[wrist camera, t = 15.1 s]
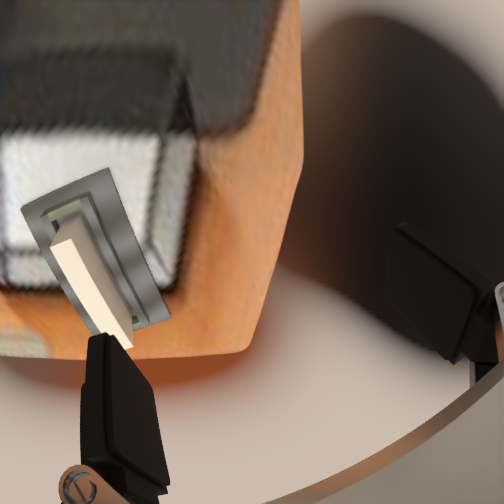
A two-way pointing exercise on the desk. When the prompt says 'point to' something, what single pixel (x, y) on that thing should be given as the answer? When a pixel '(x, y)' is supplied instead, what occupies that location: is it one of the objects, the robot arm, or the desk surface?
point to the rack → (99, 244)
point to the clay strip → (92, 279)
